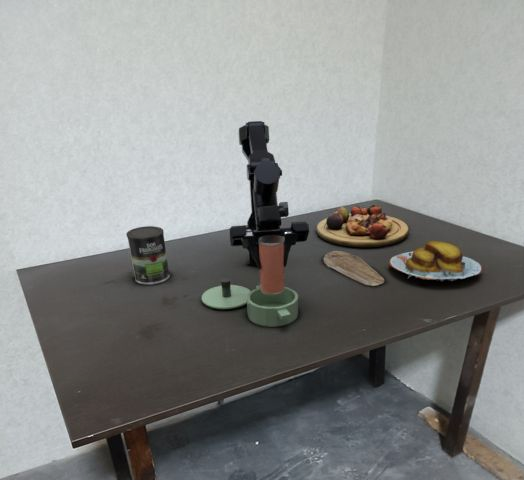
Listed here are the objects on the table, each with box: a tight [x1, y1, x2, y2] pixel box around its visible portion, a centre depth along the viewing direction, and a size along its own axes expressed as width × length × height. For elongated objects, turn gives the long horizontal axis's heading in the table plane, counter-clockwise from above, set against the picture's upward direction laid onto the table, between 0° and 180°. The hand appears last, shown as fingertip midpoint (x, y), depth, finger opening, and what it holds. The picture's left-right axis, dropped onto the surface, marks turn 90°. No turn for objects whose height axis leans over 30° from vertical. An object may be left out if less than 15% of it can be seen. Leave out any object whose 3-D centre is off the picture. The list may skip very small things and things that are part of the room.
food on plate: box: [388, 240, 483, 282], centre depth 139 cm, size 25×25×7 cm
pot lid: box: [201, 277, 252, 310], centre depth 129 cm, size 14×14×6 cm
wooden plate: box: [316, 204, 410, 248], centre depth 169 cm, size 32×32×8 cm
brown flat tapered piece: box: [323, 250, 385, 287], centre depth 144 cm, size 26×10×1 cm, turn 31°
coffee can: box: [126, 225, 171, 286], centre depth 140 cm, size 10×10×14 cm
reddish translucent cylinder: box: [258, 235, 285, 295], centre depth 115 cm, size 6×6×13 cm
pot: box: [246, 284, 299, 328], centre depth 121 cm, size 13×18×5 cm
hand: (272, 267), depth 114 cm, fingers closed on reddish translucent cylinder, 6 cm apart
